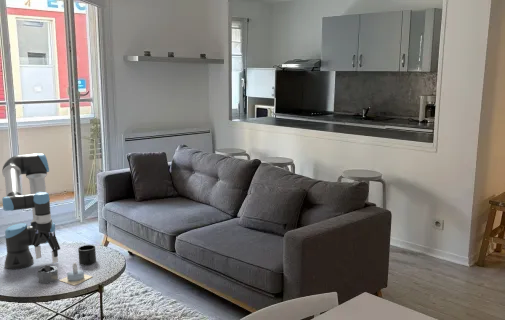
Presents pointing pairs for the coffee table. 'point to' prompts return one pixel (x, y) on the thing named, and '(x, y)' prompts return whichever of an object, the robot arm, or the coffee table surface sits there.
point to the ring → (48, 275)
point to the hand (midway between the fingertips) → (47, 260)
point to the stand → (47, 268)
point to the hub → (75, 276)
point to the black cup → (87, 255)
